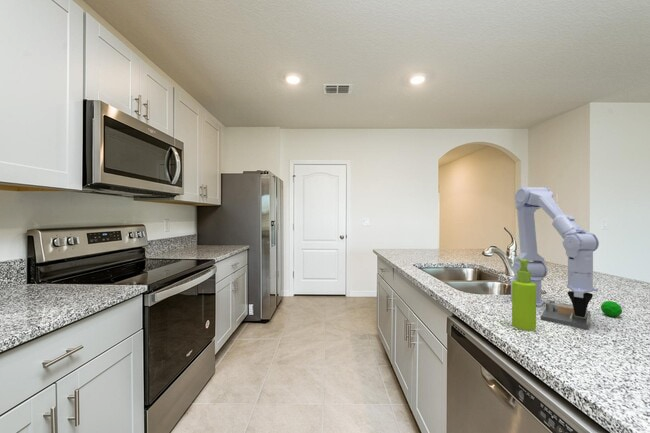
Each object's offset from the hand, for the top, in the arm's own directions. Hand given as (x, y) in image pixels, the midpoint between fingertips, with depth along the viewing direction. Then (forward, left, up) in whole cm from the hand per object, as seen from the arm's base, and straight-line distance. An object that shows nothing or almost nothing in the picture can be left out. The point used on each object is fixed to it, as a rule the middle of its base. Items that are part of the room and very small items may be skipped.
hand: (579, 316), depth 86 cm
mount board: (-3, +4, -2) cm, 6 cm away
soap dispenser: (-12, -15, -2) cm, 19 cm away
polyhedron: (+7, +16, -2) cm, 18 cm away
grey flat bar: (-3, +5, 0) cm, 6 cm away
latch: (0, +4, -1) cm, 4 cm away
